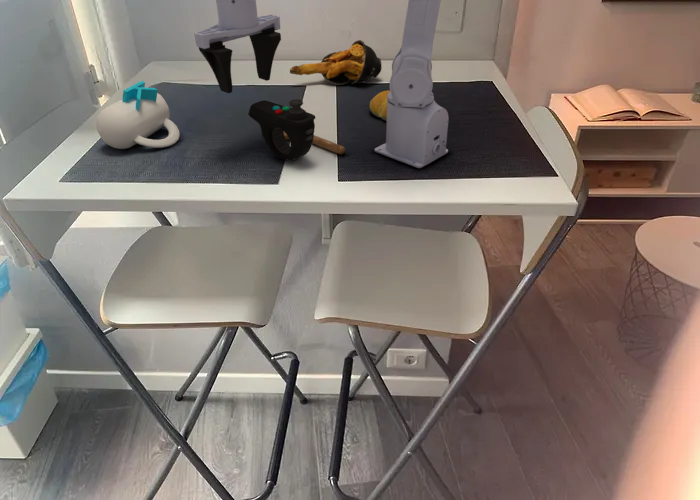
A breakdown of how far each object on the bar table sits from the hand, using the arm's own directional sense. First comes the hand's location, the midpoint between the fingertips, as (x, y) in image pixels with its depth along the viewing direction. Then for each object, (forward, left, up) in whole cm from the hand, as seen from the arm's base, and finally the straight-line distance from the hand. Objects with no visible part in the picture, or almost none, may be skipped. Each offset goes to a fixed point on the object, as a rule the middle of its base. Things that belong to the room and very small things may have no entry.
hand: (245, 85), depth 90 cm
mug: (+15, +11, -11) cm, 22 cm away
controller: (-7, -1, -11) cm, 13 cm away
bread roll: (-9, -27, -11) cm, 30 cm away
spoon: (-5, -8, -10) cm, 14 cm away
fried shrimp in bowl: (+11, -33, -11) cm, 36 cm away
